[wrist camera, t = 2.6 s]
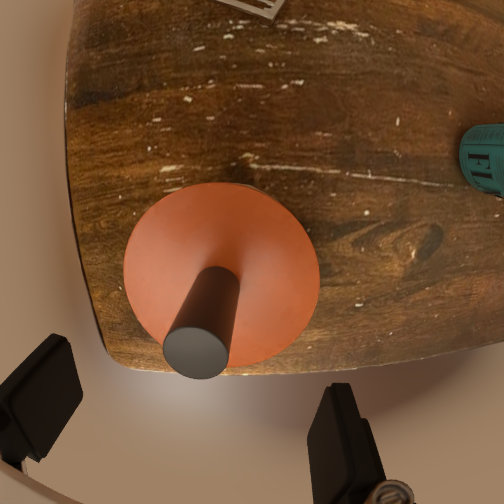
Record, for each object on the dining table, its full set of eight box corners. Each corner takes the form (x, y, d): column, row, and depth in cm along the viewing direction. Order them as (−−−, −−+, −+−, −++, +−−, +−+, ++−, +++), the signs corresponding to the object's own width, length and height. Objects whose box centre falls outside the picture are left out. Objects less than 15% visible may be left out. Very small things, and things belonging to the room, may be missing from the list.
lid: (134, 342, 21) (89, 414, 14) (132, 173, 18) (54, 187, 10) (297, 365, 22) (309, 451, 14) (333, 196, 18) (384, 224, 10)
